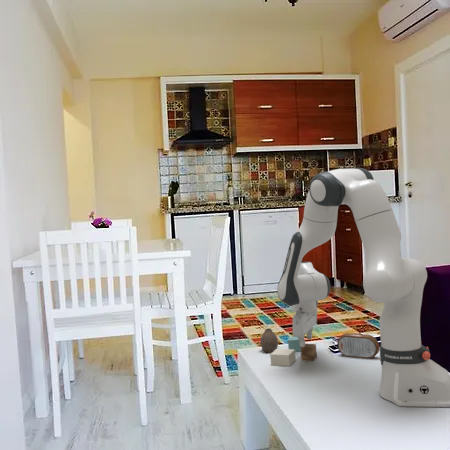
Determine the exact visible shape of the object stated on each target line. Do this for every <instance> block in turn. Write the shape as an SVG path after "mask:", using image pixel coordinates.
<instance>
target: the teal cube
mask: <svg viewBox="0 0 450 450" xmlns="http://www.w3.org/2000/svg"><path fill="white" fill-rule="evenodd" d="M287 344H288V349H294V350H295V354H297V353H296V352H300V353H301V347H300V343H299V340H298V337H294V336H288V339H287Z"/></svg>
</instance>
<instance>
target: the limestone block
mask: <svg viewBox="0 0 450 450" xmlns="http://www.w3.org/2000/svg"><path fill="white" fill-rule="evenodd" d="M269 354H270V355H269V356H270V357H269V358H270V366H277V367H291V366H292V364H294V362H295V361H296V353H295V350H294V349H289V348H288V349H287V348H277V349H276V350H275V351H274V352H270V353H269Z"/></svg>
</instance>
